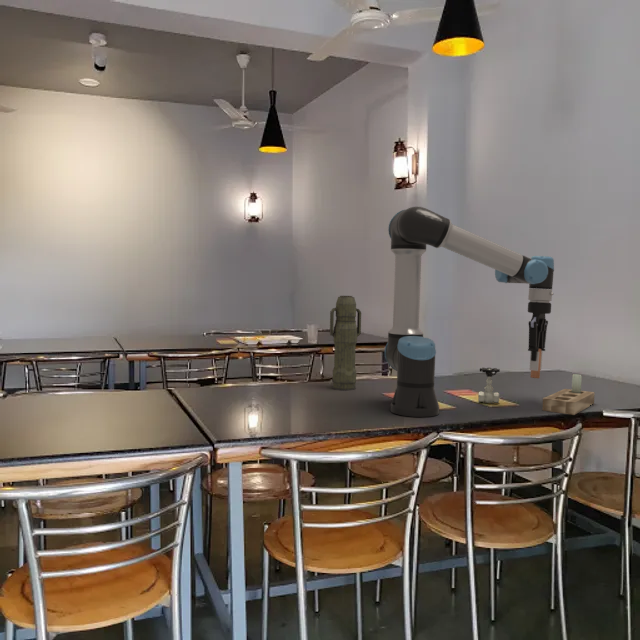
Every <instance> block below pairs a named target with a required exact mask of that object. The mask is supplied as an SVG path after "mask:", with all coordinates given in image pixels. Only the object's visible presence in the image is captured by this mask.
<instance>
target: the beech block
mask: <svg viewBox="0 0 640 640" xmlns="http://www.w3.org/2000/svg"><path fill="white" fill-rule="evenodd" d="M595 394H596V393H595V392H594V391H587V390H581V394H579V393H572V388H571V389H570V388H569V389H568V388H563V389H561V390H559V391H556V392H555V393H552V394H550V395H548V396H545V397H542V408H541V409H542V411H544V412H551V413H559V414H564V415H572V416H575V415H577V414H578V413H580V412H582V411H585V410H586V409H588V408H589V407H591V406H592V404H593V405H594V404H595ZM590 405H591V406H590Z"/></svg>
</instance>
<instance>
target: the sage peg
mask: <svg viewBox="0 0 640 640" xmlns="http://www.w3.org/2000/svg"><path fill="white" fill-rule="evenodd" d="M582 377H583V376H582V374H578V373H573V374H572V378H571V390H572V393H579V394H581V391H582V382H583V381H582Z"/></svg>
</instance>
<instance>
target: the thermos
mask: <svg viewBox="0 0 640 640" xmlns="http://www.w3.org/2000/svg"><path fill="white" fill-rule="evenodd" d="M334 312H335V313H334ZM329 315H330V316H329V335H330V336H332V337H333V343H334V364H333V365H334V366H333V369H332V389H334V390H336V391H353V390H356V388H357V387H356V383H357V369H356V348H357V342H358V337H359V336H360V335H361V334H362V311H361V310H360V309H359V308H357V301H356V299H355V297H354V296H353V295H339V296H338V297H337V300H336V302H335V307H333V308H332V309H331V310H330V312H329ZM334 315H335V317H336V318H334ZM356 318H357V321H356ZM334 319H335V323H334Z"/></svg>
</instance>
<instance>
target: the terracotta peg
mask: <svg viewBox="0 0 640 640" xmlns="http://www.w3.org/2000/svg"><path fill="white" fill-rule="evenodd" d="M538 352H539V366H538V371H534V370H530V378H531V379H540V376H541V370H540V364H541V349H538Z"/></svg>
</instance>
